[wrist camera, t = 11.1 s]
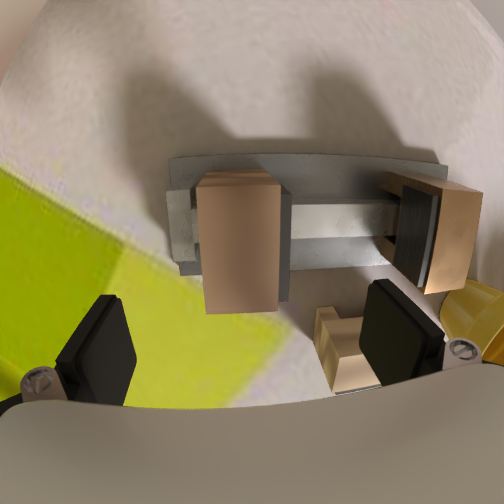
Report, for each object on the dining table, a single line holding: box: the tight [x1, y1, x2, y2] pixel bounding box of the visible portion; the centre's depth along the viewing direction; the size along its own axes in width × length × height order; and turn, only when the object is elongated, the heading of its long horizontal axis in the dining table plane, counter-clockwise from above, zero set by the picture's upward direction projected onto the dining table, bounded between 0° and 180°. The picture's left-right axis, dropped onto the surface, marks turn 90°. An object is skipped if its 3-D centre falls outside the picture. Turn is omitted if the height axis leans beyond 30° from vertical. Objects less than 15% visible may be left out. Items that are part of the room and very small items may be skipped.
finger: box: [196, 169, 292, 314], centre depth 18 cm, size 5×7×7 cm, turn 1°
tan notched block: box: [313, 306, 382, 395], centre depth 24 cm, size 5×7×7 cm, turn 91°
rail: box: [166, 153, 483, 294], centre depth 19 cm, size 23×9×8 cm, turn 91°
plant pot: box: [440, 279, 504, 366], centre depth 24 cm, size 10×10×10 cm
